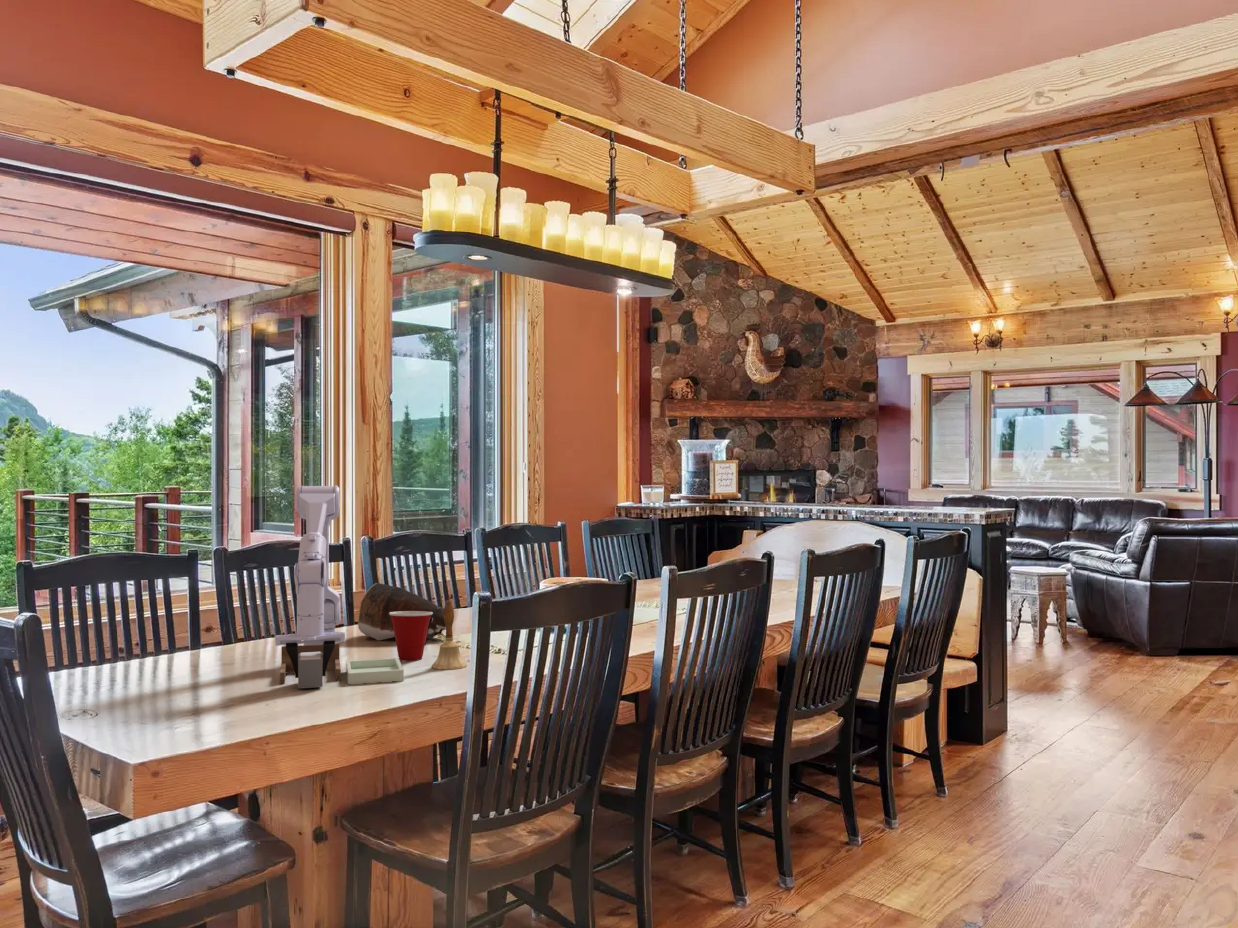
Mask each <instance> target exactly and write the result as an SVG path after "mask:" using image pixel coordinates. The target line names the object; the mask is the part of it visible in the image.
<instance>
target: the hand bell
mask: <svg viewBox="0 0 1238 928" xmlns="http://www.w3.org/2000/svg"><path fill="white" fill-rule="evenodd" d="M443 609H444V621H445V625H446V630H445V641H444V642H442V643H440V646H439V651H438V656H437V658H436V660H435V661H434V662H433V663H432V665H431V667H432V669H435V670H440V671H453V670H461V669H463V668H467V662H465V661H464V660H463V657H462V655H461V651H460V646H459V644H458V642H455V640H454V637H453V636H454V635H453V633H454V632H453V624H454V621H455V609H454V606H453V601H452V600H451V599H450V600H446V601H445V604H444V608H443Z"/></svg>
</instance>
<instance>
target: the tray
mask: <svg viewBox="0 0 1238 928" xmlns="http://www.w3.org/2000/svg"><path fill="white" fill-rule="evenodd" d="M345 663H346V664H345V665H346V667H345V668H346V671H345V673H346V679H347V684H351V685H362V684H363V683H367V684H378V683H377V682H382V683H391V682H392V681H395V683H397V682H404V675H405V674H404V671H405V670H404V667H403V665H402V663H401V660H400V659H399V657H394V658H392V657H389V658H374V659H359V660H358V659H357V660H346V661H345ZM396 681H397V682H396ZM392 683H393V682H392Z"/></svg>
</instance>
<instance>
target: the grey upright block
mask: <svg viewBox="0 0 1238 928" xmlns="http://www.w3.org/2000/svg"><path fill="white" fill-rule="evenodd" d="M323 677H324V676H323V658H322V652H303V653H299V657H298V678H297V681H298V683H297V688H298V689H312V688H323V680H324V679H323Z"/></svg>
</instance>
